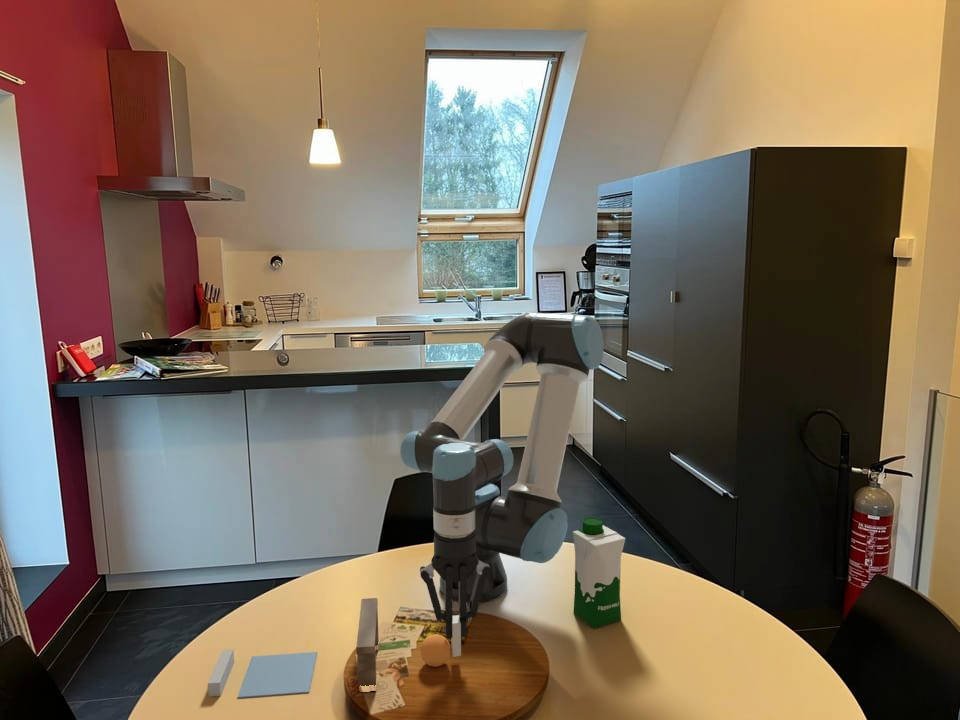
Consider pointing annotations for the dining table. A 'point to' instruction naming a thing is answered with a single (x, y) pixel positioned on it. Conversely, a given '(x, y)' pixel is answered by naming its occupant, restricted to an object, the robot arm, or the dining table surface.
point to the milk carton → (597, 573)
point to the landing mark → (278, 675)
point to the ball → (435, 650)
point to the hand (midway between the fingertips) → (456, 652)
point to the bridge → (367, 642)
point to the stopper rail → (221, 673)
